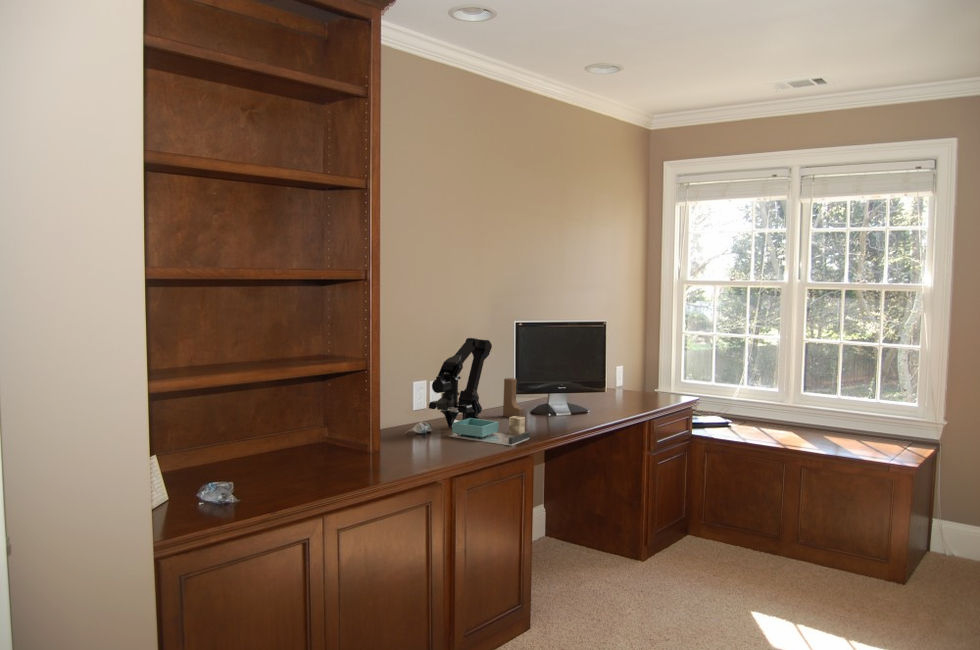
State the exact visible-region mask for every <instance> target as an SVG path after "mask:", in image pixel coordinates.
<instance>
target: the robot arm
mask: <svg viewBox="0 0 980 650" xmlns="http://www.w3.org/2000/svg"><path fill="white" fill-rule="evenodd" d="M492 348H493V345H492V342H491V341H490V340H488V339H482V338H479V339H478V338H475V337H467V338H466V339H465V342H464V343H463V344H462V345H461V347H460V348H459V349H458V351H457V352H456V353H455V354H454V355H452V356H450V357H448V358H446V360H445V361H443V363H442V365H441V368H440V369H439V372H438V375H437V376H436V377H435V378H436V379H434V380H433V382H432V383H431V388H432V391H433V392H434V393H436V394H441V393H442V394H441V397H440V398H438V399H437V400H433V401H430V402H429V403H428V409H431V410H438V411H439V412H440V413H442V414H443V416H444V417H445V420H446V422H447V427H448V428H452V427H453V423H455V422H456V418H457V416H458V415H459V413H461V414H462V419H461V420H465V419H468V418H473V419H480V416H479V414H481V413H482V410H483V407H482V406H481V403H480V402H479V401H480V400H479V399H480V396H479V394H478V387H479V384H480V379H481V375H482V371H483V366H484V363H485V360H486V359H487V358H488V357H489V356H490V353H491V351H492ZM471 354H472V357H473V358H472V362H471V367H470V371H469V375H468V379H467V382H466V386H465V388H464V390H461V391H460V392H459V380H461V379H462V377H461V376H460V373H461V371H463V369H464V363H465V361H466V360H467V359H468V358H469V356H470V355H471ZM458 396H459V397H458Z"/></svg>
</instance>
